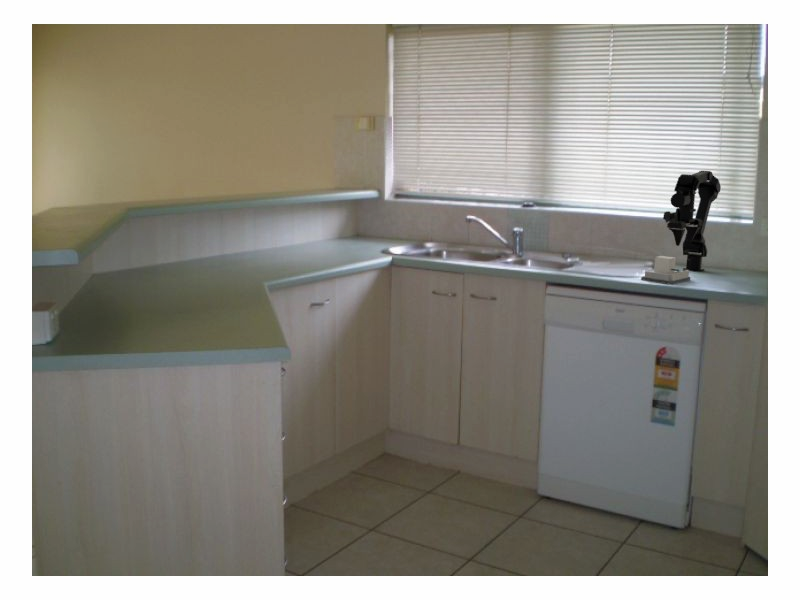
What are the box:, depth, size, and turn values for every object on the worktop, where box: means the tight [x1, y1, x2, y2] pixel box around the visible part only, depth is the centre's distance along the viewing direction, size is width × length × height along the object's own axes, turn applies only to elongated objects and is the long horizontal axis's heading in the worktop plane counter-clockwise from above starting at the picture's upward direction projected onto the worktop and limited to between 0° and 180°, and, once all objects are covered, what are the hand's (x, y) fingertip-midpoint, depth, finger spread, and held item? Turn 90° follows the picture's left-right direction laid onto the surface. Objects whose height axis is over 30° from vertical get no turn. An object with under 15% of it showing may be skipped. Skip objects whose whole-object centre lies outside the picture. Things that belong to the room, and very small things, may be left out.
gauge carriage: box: [653, 255, 680, 274], centre depth 346 cm, size 5×9×8 cm, turn 45°
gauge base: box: [640, 269, 691, 285], centre depth 349 cm, size 14×13×4 cm
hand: (683, 244), depth 360 cm, fingers open, 9 cm apart
